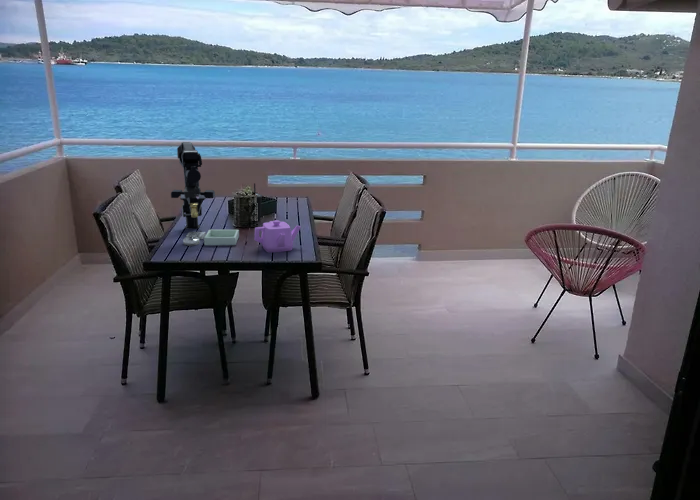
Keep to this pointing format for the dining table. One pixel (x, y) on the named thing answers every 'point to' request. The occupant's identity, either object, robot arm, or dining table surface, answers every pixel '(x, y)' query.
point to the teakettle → (276, 236)
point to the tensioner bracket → (193, 238)
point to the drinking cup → (259, 199)
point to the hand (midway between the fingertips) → (194, 212)
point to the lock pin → (194, 209)
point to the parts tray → (221, 237)
